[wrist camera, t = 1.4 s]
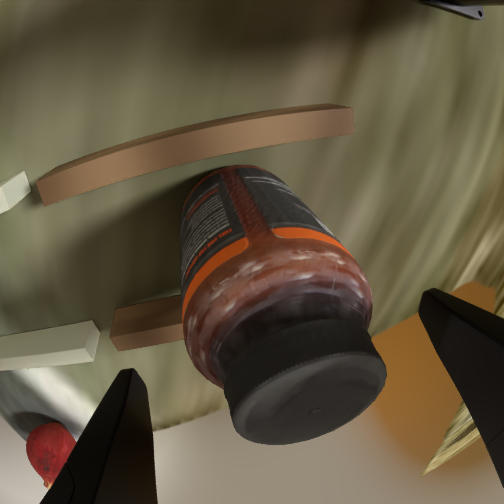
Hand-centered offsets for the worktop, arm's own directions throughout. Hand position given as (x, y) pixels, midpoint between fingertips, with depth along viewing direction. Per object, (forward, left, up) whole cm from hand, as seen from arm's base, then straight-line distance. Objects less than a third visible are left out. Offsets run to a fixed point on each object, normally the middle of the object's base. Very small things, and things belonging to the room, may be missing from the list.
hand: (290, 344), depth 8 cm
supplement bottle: (0, 0, -9) cm, 9 cm away
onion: (+23, +17, -9) cm, 30 cm away
